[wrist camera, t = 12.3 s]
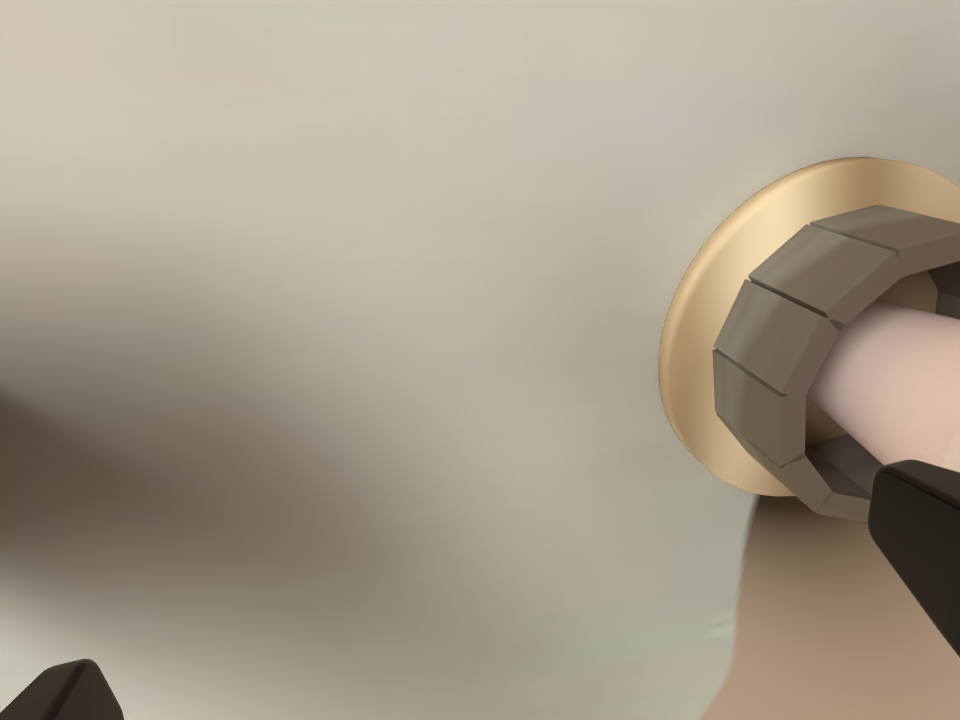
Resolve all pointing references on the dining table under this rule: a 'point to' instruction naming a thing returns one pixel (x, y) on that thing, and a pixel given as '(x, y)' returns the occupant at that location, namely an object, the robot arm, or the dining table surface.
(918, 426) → the smoothie
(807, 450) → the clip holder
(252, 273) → the dining table surface
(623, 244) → the dining table surface
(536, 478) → the dining table surface
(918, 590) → the robot arm
